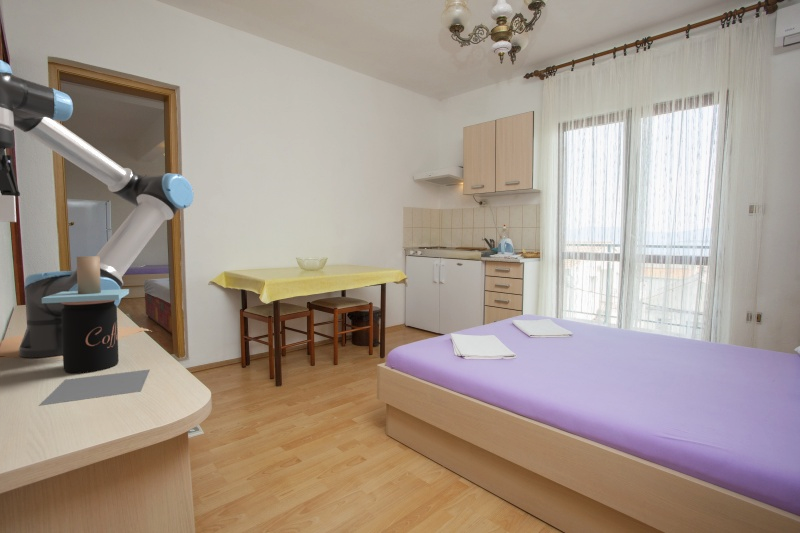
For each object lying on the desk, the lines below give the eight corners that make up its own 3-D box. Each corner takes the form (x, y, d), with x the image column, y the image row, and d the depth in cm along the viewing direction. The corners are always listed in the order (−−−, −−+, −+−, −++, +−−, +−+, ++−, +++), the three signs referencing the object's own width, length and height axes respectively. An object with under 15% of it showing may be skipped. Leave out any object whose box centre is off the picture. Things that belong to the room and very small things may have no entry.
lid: (62, 296, 98) (60, 256, 97) (129, 293, 104) (127, 255, 104) (41, 303, 85) (39, 257, 85) (118, 299, 92) (117, 256, 91)
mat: (65, 383, 86) (65, 379, 86) (150, 372, 94) (150, 369, 94) (38, 409, 72) (38, 405, 72) (141, 395, 79) (140, 391, 79)
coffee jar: (88, 378, 89) (85, 301, 89) (51, 375, 92) (48, 300, 91) (129, 365, 100) (127, 295, 99) (95, 362, 102) (93, 294, 101)
